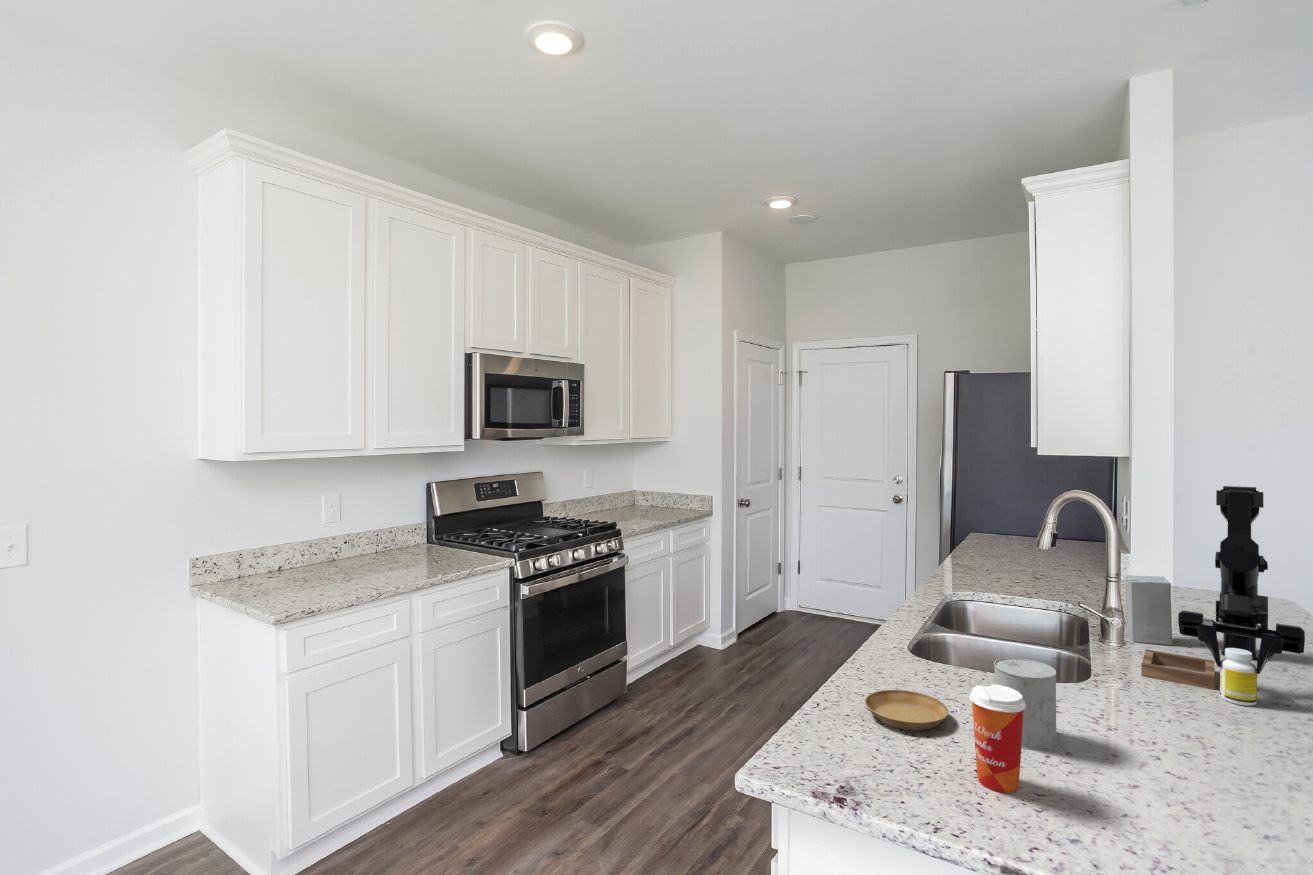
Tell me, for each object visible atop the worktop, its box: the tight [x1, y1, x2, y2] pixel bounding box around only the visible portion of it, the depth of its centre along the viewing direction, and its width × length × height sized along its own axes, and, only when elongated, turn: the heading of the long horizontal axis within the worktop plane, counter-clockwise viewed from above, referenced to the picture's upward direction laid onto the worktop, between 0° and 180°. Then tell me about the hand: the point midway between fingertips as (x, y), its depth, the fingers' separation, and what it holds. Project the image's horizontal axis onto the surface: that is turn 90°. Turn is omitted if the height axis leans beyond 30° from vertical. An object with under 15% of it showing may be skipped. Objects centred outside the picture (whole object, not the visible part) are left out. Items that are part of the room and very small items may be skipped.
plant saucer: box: [864, 689, 950, 732], centre depth 124 cm, size 15×15×3 cm
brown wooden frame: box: [1140, 648, 1216, 691], centre depth 142 cm, size 12×12×2 cm
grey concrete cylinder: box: [993, 657, 1058, 751], centre depth 115 cm, size 10×10×12 cm
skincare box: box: [1125, 574, 1173, 646], centre depth 163 cm, size 8×7×16 cm
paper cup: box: [969, 683, 1026, 794], centre depth 101 cm, size 8×8×14 cm
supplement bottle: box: [1219, 648, 1258, 707], centre depth 128 cm, size 5×5×10 cm
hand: (1238, 669), depth 127 cm, fingers closed on supplement bottle, 5 cm apart
